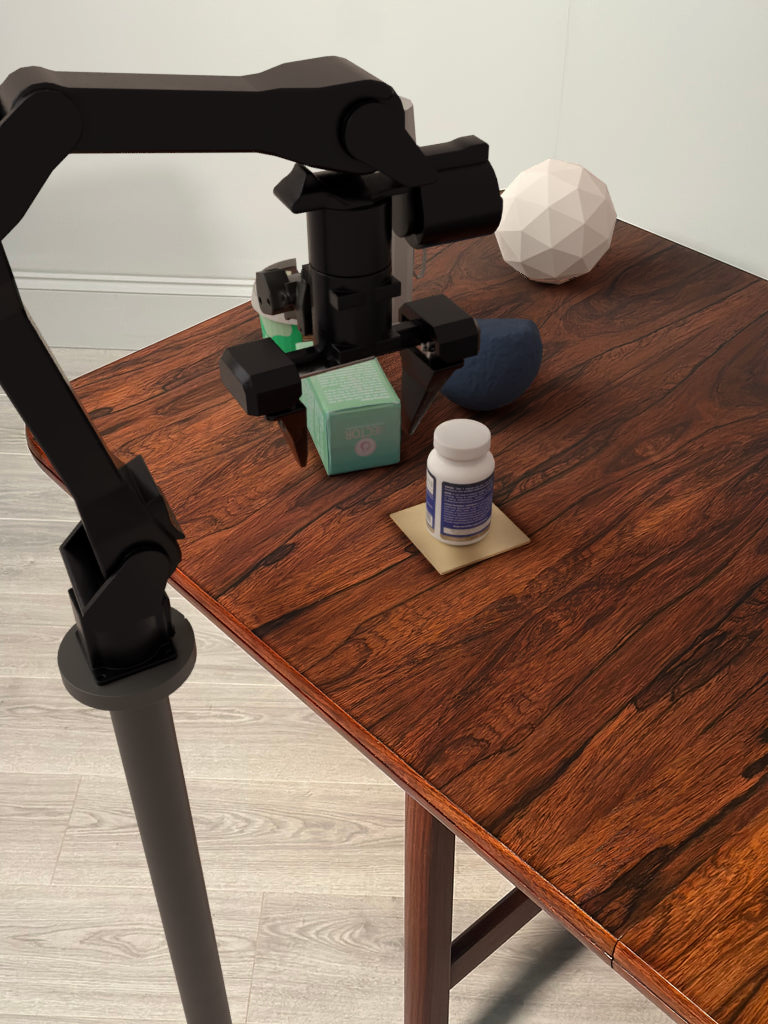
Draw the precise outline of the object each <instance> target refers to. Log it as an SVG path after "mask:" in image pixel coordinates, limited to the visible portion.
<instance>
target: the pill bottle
mask: <svg viewBox="0 0 768 1024" xmlns="http://www.w3.org/2000/svg"><path fill="white" fill-rule="evenodd" d="M491 434H492V433H491V430H490V429H489V428H488V427H487V426H486V425H485V424H483V423H482V422H479V421H477V420H474V419H470V418H469V419H468V418H454V419H449V420H446V421H444V422H442V423H440V424H439V425H438V426H436V428H435V429H434V432H433V449H431V451H430V453H429V454H428V457H427V460H426V488H425V489H426V490H425V491H426V493H425V494H426V495H425V502H426V526H427V529H428V531H429V533H430V534H431V535H432V536H433V537H434V538H435V539H437V540H438V541H441V542H443V543H446V544H449V545H456V546H462V545H469V544H473V543H476V542H478V541H480V540H481V539H483V538H484V537H485V536H486V535H487V534H488V532H489V530H490V526H491V514H492V503H493V498H494V484H495V470H496V462H495V458H494V456H493V454H492V452H491V451H490V449H491V444H492V443H491V442H492V439H491V438H492V435H491Z"/></svg>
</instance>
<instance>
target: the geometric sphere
mask: <svg viewBox="0 0 768 1024" xmlns="http://www.w3.org/2000/svg"><path fill="white" fill-rule="evenodd" d="M500 196H501V197H502V198H503V213H502V219H501V222H500V225H499V227H498V228H497V230H496V231H495V232H494V235H495V238H496V241H497V245H498V247H499V250H500V253H501V256H502V259H503V261H504V262H505V263H507V264H508V265H509V266H510V267H512V268H513V269H514V270H515V271H517V272H518V271H519V272H520V273H519V272H518V273H519V274H521V273H522V274H524V275H526V276H527V277H531V278H535V279H544V280H562V279H567V278H572V277H576V278H578V277H580V276H583V275H585V274H587V273H590V272H591V270H593V268H594V267H595V266H596V265H597V263H599V261H600V260H601V259H602V257H603V256H604V255H605V254H606V253H607V251H608V250H609V249H610V247H611V244H612V239H613V234H614V230H615V226H616V222H617V218H618V214H617V211H616V209H615V206H614V203H613V200H612V197H611V194H610V191H609V189H608V185H607V184H606V182H605V181H603V180H601V179H600V178H599V177H597V176H596V175H594V174H593V173H592V172H590V170H588V169H587V168H586V167H584V166H583V165H582V164H580V163H575V162H570V161H565V160H560V159H554V158H548V159H546V160H543V161H542V162H539V163H538V164H536V165H533V166H531V167H529V168H527V169H524V170H523V171H521V172H519V174H518V175H517V176H516V177H515V179H514V180H513V181H512V182H510V184H509V185H508V186H507V188H506V189H505V190H504V191H503V192H501V193H500ZM522 274H521V275H522ZM569 281H570V280H567V281H561V282H547V281H536V282H537V283H546V284H552V285H561V284H564V283H567V282H569Z"/></svg>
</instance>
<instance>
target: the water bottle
mask: <svg viewBox="0 0 768 1024" xmlns="http://www.w3.org/2000/svg"><path fill="white" fill-rule="evenodd" d="M398 96H399V97H400V99H401V101H402V104H403V108H404V111H405V129H406V130H407V132H408V133H409V135H410V136H411V137H412V139H413V140H414V141H415V143H416V144H417V135H416V125H415V124H416V122H415V110H414V103H413V102H412V100H411V99H410V98H409V99H408V98H406V97H404V96H402V95H398ZM417 145H418V144H417ZM418 147H421V146H420V145H418ZM378 172H379V171H377V172H375V173H378ZM415 251H416V249H414V248H412V247H411V246H410V245H409V244H408V242H407V241H406V240H405V238H400V237H398V236H397V235H396V234H395V233H394V231H393V230H392V275H393V276H394V277H395V278H397V279H398V280H399V281H400V282H401V296H398V297H394V298H392V324H396V323H400V322H398V309H399V308H400V307H401V306H402V305H403V304H404V303H406V302H410V301H413V290H414V289H413V287H414V286H413V282H414V279H413V278H415V279H416V280H418V279H422V278H424V277H425V273H426V270H427V261H428V253H427V248H424V249H422V261H421V268H420V272H419V273H418V274H416V272H415Z"/></svg>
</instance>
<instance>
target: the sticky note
mask: <svg viewBox="0 0 768 1024" xmlns="http://www.w3.org/2000/svg"><path fill="white" fill-rule="evenodd" d="M389 517H390V519H391V520H392V521H393V522H394V523H395V524H396V526H397V527H399V529H400V530H401V531H402V532H403V533H404V535H405V536H406V537H407V538H408V539H409V540H410V542H411V543H412V544H413V545H414V547H416V548H417V549H418V551H419V552H420V553H421V554H422V555H423V556H424V558H425V559H426V560H427V561H428V562H429V563H430V564H431V565H432V567H433V568H434V569H435V570H436V571H437V573H438V574H440V576H444V575H445V574H449V573H451V572H454V571H457V570H460V569H462V568H465V567H467V566H470V565H473V564H477V563H478V562H481V561H484V560H486V559H490V558H492V557H495V556H497V555H500V554H503V553H506V552H508V551H511V550H514V549H517V548H520V547H522V546H525V545H528V544H530V543H531V542H532V541H531V538H529V537H528V536H527V535H526V534H525V533H524V532H523V531H522V530H521V529H520V528H519V527H518V526H517V525H516V524H515V523H514V522H513V521H512V520H511V519H510V518H509V517H508V516H507V515H506V514H505V513H504V512H503V511H502V510H501V509H500V508H499V507H498V506H497V505H495V503H494V502H492V514H491V526H490V530H489V532H488V534H487V535H486V536H485V537H484V538H483V539H481V540H480V541H478V542H476V543H473V544H469V545H462V546H456V545H449V544H446V543H443V542H441V541H438V540H437V539H435V538H434V537H433V536H432V535H431V534H430V533H429V531H428V529H427V526H426V501H425V502H422V503H420V504H417V505H414V506H413V505H412V506H411V507H407V508H405V509H402V510H399V511H396V512H393V513H390V514H389Z"/></svg>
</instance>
